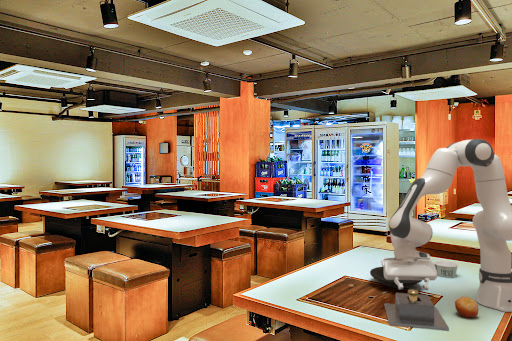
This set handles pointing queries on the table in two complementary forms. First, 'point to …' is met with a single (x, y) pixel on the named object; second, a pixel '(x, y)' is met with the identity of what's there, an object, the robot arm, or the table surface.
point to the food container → (446, 268)
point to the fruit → (466, 307)
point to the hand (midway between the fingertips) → (413, 289)
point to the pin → (412, 295)
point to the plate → (379, 276)
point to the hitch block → (414, 313)
